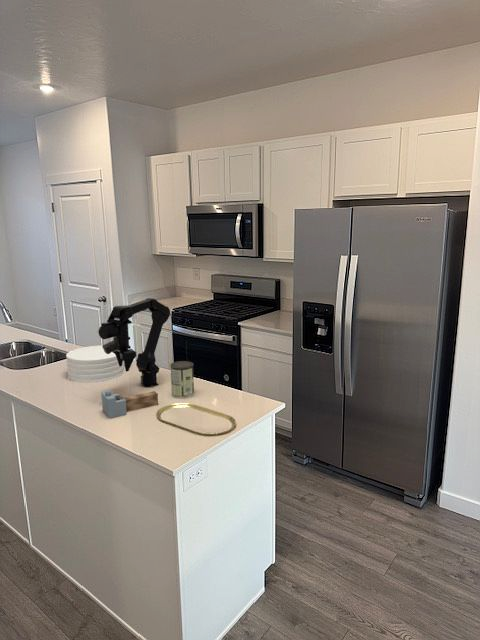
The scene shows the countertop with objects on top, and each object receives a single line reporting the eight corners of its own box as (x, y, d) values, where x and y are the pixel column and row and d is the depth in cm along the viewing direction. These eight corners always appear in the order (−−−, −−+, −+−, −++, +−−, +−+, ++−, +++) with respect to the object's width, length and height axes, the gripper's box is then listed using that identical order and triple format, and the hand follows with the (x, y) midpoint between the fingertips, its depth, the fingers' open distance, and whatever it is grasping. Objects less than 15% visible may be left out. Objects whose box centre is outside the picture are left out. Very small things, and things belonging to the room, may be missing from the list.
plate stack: (102, 362, 248) (101, 342, 246) (135, 371, 232) (134, 350, 230) (56, 375, 226) (54, 354, 224) (90, 386, 210) (88, 363, 208)
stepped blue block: (119, 407, 185) (118, 384, 183) (126, 414, 178) (125, 390, 176) (102, 410, 182) (101, 387, 180) (109, 418, 174) (107, 394, 172)
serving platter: (214, 442, 156) (214, 438, 155) (146, 417, 176) (146, 414, 176) (245, 423, 171) (245, 420, 170) (179, 403, 191) (179, 399, 190)
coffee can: (179, 388, 207) (178, 359, 204) (198, 392, 203) (197, 362, 200) (166, 396, 198) (165, 365, 195) (186, 399, 194) (185, 368, 191)
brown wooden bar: (154, 402, 191) (154, 389, 190) (158, 404, 188) (157, 392, 187) (118, 410, 183) (117, 397, 181) (121, 413, 180) (120, 400, 179)
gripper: (97, 332, 198) (99, 366, 201) (110, 341, 183) (112, 377, 186) (121, 330, 204) (123, 362, 207) (136, 338, 189) (137, 373, 192)
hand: (123, 368), depth 198 cm, fingers open, 9 cm apart
